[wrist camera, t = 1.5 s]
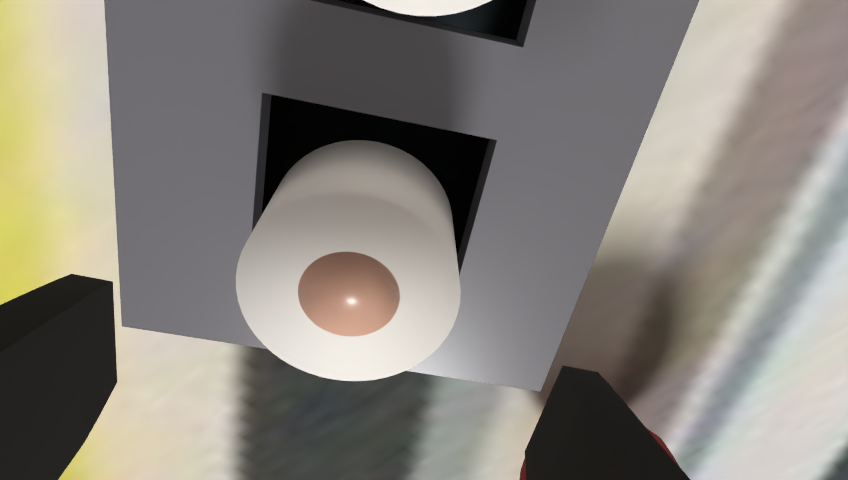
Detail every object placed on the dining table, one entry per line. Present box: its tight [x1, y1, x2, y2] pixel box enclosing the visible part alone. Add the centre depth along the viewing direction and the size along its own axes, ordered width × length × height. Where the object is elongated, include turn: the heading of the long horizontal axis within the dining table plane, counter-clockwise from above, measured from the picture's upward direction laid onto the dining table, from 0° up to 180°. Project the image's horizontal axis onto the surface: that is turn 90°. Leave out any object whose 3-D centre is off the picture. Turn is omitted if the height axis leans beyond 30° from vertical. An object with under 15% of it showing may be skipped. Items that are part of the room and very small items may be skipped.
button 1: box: [236, 140, 461, 381], centre depth 12 cm, size 4×4×3 cm
